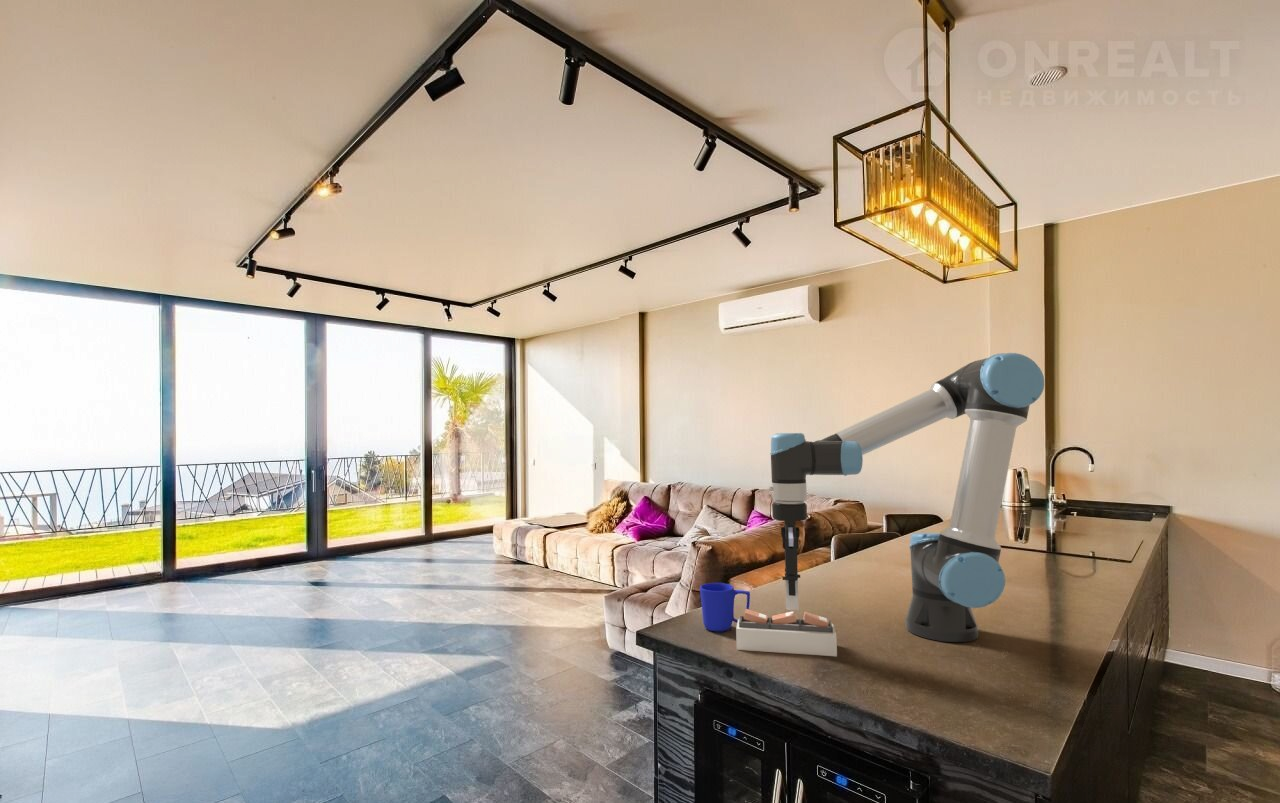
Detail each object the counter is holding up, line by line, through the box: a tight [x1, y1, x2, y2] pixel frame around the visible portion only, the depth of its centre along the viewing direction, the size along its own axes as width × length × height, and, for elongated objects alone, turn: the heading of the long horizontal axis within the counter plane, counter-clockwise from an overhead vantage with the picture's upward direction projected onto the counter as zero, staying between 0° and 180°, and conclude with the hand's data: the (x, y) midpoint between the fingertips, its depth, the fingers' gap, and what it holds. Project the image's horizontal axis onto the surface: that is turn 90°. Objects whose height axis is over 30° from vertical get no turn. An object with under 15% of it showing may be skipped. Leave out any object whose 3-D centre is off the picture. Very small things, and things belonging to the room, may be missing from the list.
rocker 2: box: [771, 610, 797, 625], centre depth 128 cm, size 5×3×2 cm, turn 78°
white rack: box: [735, 615, 838, 657], centre depth 127 cm, size 21×7×6 cm, turn 77°
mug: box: [699, 582, 751, 633], centre depth 140 cm, size 8×12×10 cm
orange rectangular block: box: [802, 611, 829, 627], centre depth 126 cm, size 5×3×2 cm, turn 76°
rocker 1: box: [743, 608, 768, 624], centre depth 129 cm, size 5×3×2 cm, turn 76°
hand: (792, 608), depth 127 cm, fingers closed
